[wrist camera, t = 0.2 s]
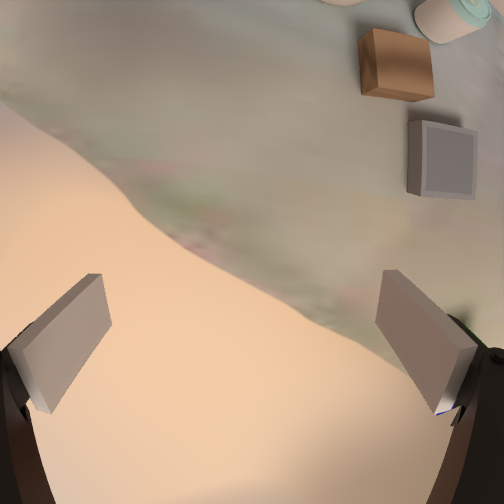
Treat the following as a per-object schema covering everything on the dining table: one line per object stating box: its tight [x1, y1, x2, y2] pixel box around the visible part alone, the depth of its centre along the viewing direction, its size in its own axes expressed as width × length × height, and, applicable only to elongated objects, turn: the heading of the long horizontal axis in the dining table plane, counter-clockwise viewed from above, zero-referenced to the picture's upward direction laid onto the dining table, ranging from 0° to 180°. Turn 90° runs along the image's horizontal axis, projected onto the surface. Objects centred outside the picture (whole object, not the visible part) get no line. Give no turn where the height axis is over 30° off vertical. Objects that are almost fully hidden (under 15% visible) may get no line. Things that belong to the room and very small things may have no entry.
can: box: [414, 0, 491, 44], centre depth 26 cm, size 7×7×12 cm
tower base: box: [407, 120, 477, 200], centre depth 36 cm, size 10×10×4 cm
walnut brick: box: [358, 28, 435, 102], centre depth 32 cm, size 8×8×6 cm
